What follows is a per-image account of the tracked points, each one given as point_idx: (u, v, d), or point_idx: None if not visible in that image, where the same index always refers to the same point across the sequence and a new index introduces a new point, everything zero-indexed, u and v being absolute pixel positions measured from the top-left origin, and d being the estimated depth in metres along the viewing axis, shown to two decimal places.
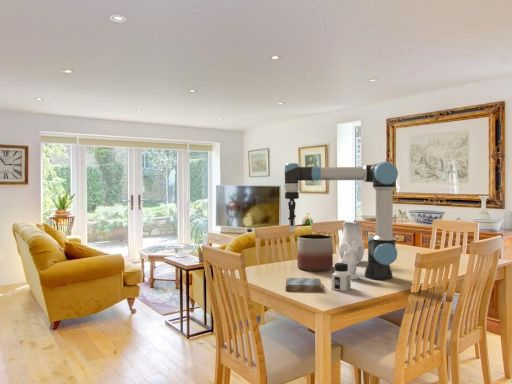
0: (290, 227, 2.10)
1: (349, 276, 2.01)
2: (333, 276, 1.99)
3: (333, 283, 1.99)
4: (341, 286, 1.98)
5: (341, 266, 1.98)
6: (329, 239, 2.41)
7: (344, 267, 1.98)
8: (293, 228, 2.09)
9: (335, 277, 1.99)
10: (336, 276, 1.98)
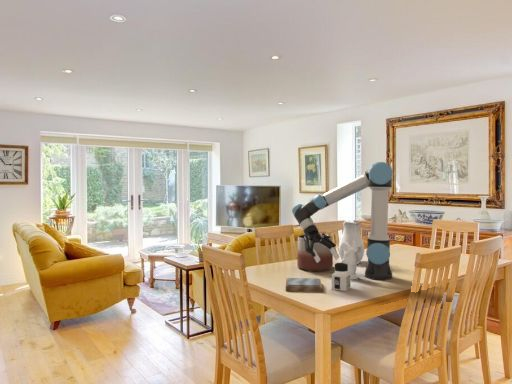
0: (315, 258, 2.06)
1: (349, 276, 2.01)
2: (333, 276, 1.99)
3: (333, 283, 1.99)
4: (341, 286, 1.98)
5: (341, 266, 1.98)
6: None
7: (344, 267, 1.98)
8: (317, 257, 2.04)
9: (335, 277, 1.99)
10: (336, 276, 1.98)
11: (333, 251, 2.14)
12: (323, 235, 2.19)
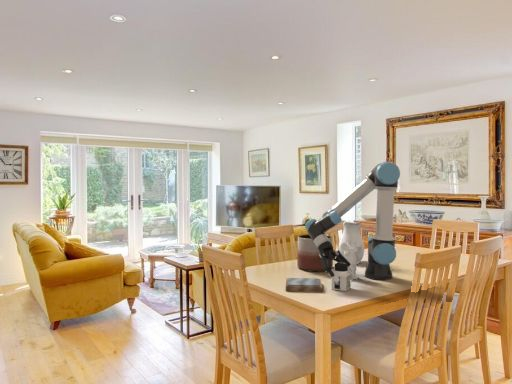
0: (334, 278, 1.97)
1: (349, 276, 2.01)
2: None
3: (333, 283, 1.99)
4: (340, 286, 1.98)
5: (341, 266, 1.98)
6: (329, 239, 2.41)
7: (344, 267, 1.98)
8: (336, 277, 1.96)
9: None
10: None
11: (348, 271, 2.04)
12: (338, 252, 2.10)
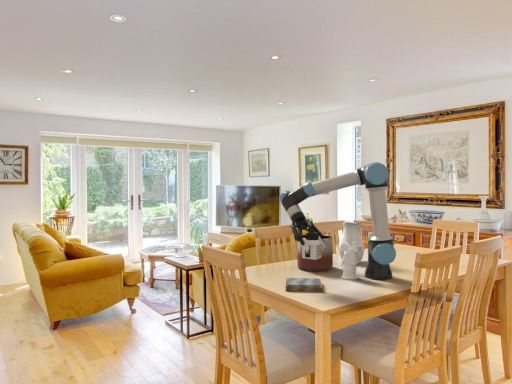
0: (304, 247, 1.99)
1: (320, 245, 2.03)
2: None
3: (304, 252, 2.01)
4: (311, 255, 1.99)
5: (312, 235, 2.00)
6: (329, 239, 2.41)
7: (315, 236, 2.00)
8: (306, 246, 1.98)
9: None
10: None
11: (319, 240, 2.06)
12: (311, 223, 2.12)
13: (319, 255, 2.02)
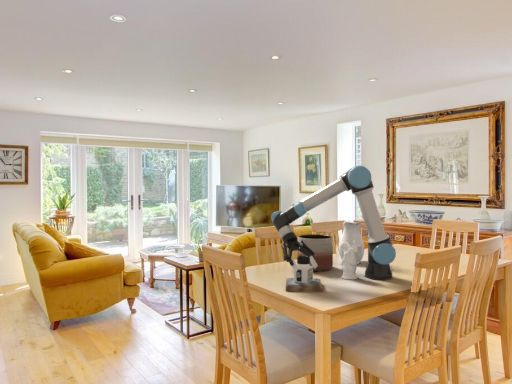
0: (293, 267, 2.00)
1: (311, 269, 2.04)
2: None
3: (295, 276, 2.02)
4: (302, 279, 2.00)
5: (303, 259, 2.01)
6: (329, 239, 2.41)
7: (306, 260, 2.01)
8: (295, 266, 1.99)
9: None
10: (298, 269, 2.01)
11: (311, 260, 2.08)
12: (302, 243, 2.13)
13: (310, 279, 2.03)
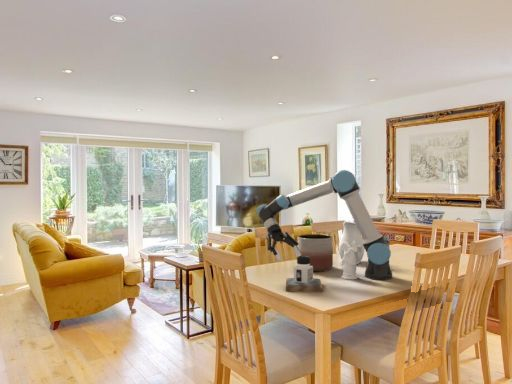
0: (276, 256, 2.11)
1: (311, 269, 2.04)
2: (295, 269, 2.02)
3: (295, 276, 2.02)
4: (302, 279, 2.00)
5: (303, 259, 2.01)
6: (329, 239, 2.41)
7: (306, 260, 2.01)
8: (278, 255, 2.10)
9: (297, 270, 2.02)
10: (298, 269, 2.01)
11: (295, 249, 2.19)
12: (286, 234, 2.24)
13: (310, 279, 2.03)
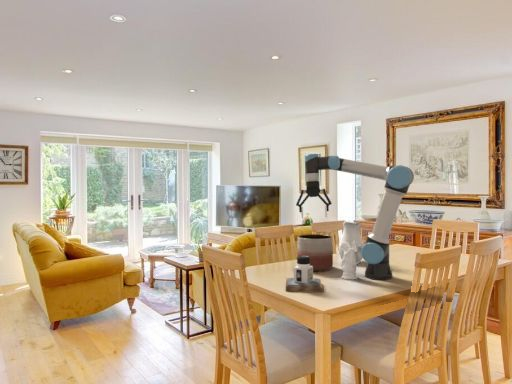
0: None
1: (311, 269, 2.04)
2: (295, 269, 2.02)
3: (295, 276, 2.02)
4: (302, 279, 2.00)
5: (303, 259, 2.01)
6: (329, 239, 2.41)
7: (306, 260, 2.01)
8: None
9: (297, 270, 2.02)
10: (298, 269, 2.01)
11: (325, 209, 2.27)
12: (323, 191, 2.27)
13: (310, 279, 2.03)
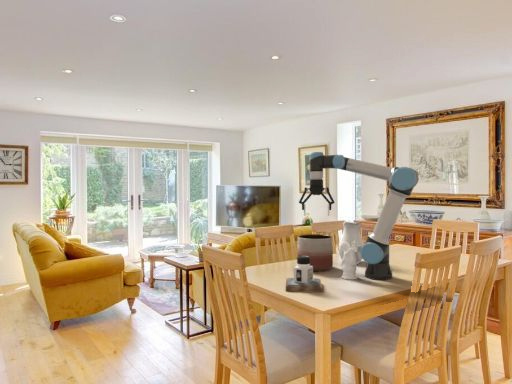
0: None
1: (311, 269, 2.04)
2: (295, 269, 2.02)
3: (295, 276, 2.02)
4: (302, 279, 2.00)
5: (303, 259, 2.01)
6: (329, 239, 2.41)
7: (306, 260, 2.01)
8: (304, 212, 2.28)
9: (297, 270, 2.02)
10: (298, 269, 2.01)
11: None
12: (326, 190, 2.26)
13: (310, 279, 2.03)
